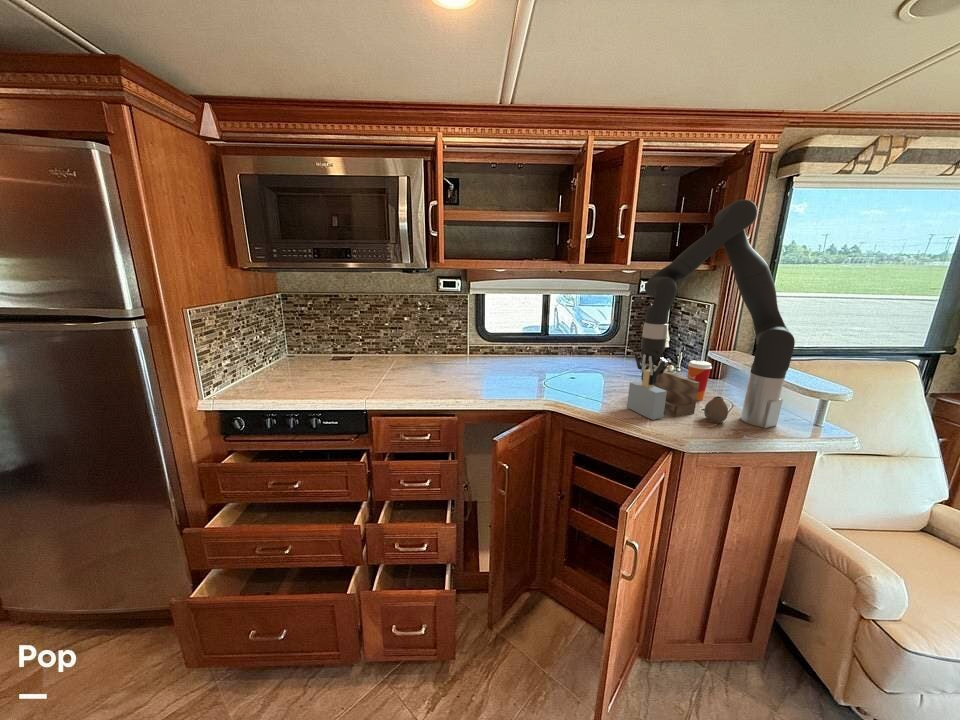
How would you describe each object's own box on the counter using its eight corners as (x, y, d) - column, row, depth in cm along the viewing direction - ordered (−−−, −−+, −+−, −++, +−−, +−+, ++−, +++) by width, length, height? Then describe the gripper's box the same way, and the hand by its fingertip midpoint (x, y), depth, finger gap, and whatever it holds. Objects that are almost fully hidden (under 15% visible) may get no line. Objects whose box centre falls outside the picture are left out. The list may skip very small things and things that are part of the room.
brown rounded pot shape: (720, 426, 122) (725, 402, 120) (699, 419, 127) (703, 396, 125) (729, 421, 126) (734, 398, 124) (708, 415, 131) (712, 392, 129)
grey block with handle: (663, 417, 128) (669, 374, 124) (652, 419, 126) (658, 376, 122) (637, 405, 139) (642, 365, 134) (626, 407, 137) (631, 366, 133)
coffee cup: (681, 393, 153) (687, 359, 149) (703, 396, 150) (710, 361, 146) (684, 400, 145) (690, 364, 141) (707, 403, 142) (714, 366, 138)
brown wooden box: (694, 413, 132) (699, 382, 129) (674, 417, 129) (679, 385, 126) (654, 396, 149) (658, 368, 145) (635, 400, 145) (639, 371, 142)
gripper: (679, 339, 120) (672, 388, 125) (646, 331, 132) (640, 376, 137) (662, 340, 117) (655, 391, 122) (630, 333, 130) (625, 379, 134)
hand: (648, 383), depth 129 cm, fingers closed on grey block with handle, 2 cm apart
